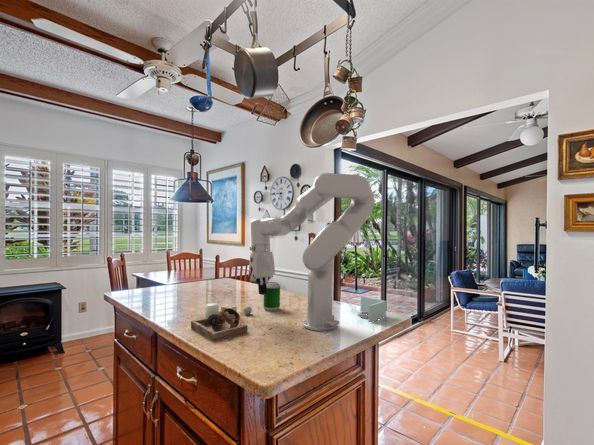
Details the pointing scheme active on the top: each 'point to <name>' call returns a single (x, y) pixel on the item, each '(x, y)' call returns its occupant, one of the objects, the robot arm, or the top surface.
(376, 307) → the l-shaped corner panel
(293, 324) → the top surface
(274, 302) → the soda can
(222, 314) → the pottery mug
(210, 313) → the pale green capsule
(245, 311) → the grey ball
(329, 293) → the robot arm
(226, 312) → the birch block
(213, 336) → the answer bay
